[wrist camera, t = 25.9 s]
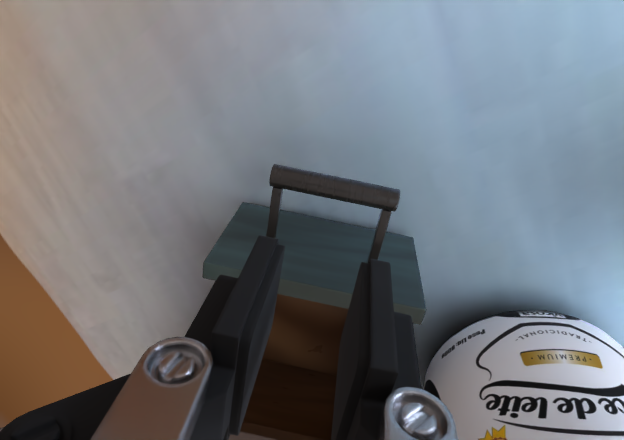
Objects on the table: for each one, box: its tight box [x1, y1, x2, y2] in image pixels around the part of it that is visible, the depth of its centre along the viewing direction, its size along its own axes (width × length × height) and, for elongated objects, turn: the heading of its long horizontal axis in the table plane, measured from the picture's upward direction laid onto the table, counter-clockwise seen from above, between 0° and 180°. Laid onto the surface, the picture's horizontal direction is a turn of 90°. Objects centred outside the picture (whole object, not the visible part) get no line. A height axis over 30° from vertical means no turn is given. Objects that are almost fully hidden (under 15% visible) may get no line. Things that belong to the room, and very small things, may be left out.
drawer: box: [203, 164, 426, 440], centre depth 32 cm, size 21×14×9 cm, turn 170°
